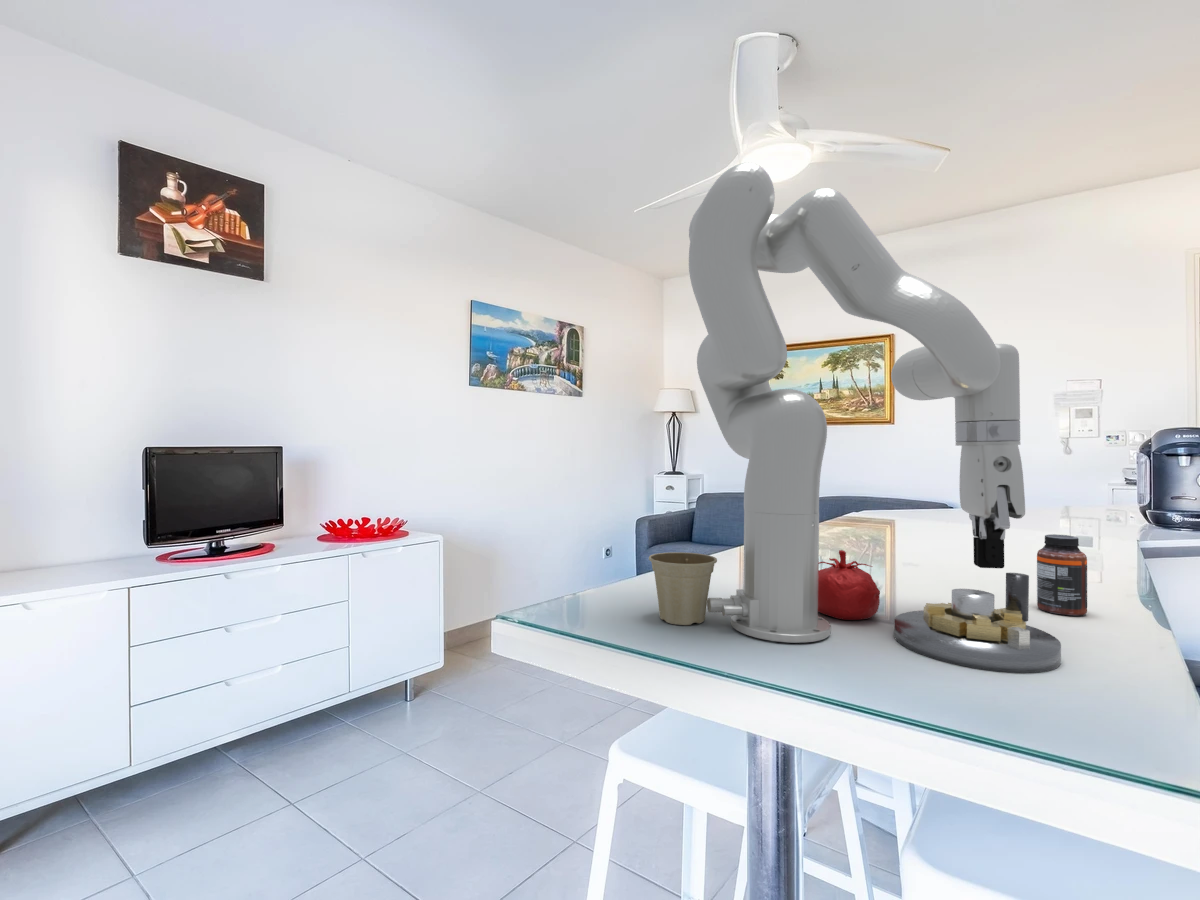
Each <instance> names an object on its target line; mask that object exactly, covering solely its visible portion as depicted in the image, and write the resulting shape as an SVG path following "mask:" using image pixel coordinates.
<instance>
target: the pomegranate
mask: <svg viewBox="0 0 1200 900" xmlns="http://www.w3.org/2000/svg"><path fill="white" fill-rule="evenodd" d="M838 555H839V558H840V560H838V559H837V558H835V557H833V558H829V561H834V563H832V562H826V561H819V565H820V564H827V565H829V567H825V568H822V569H819V573H818V613H821V614H823V615H826V616H829V617H832V618H836V619H839V620H843V621H844V620H845V621H846V620H849V621H857V620H858V621H859V620H867V619H869V618H872V617H873V616H875V615H876V614H877V613H878V611H879V606H880V603H881V602H880V594H881V591H880V590H879V589H880V588H878V585H877V584H876V582H875V580H874V579H873V577H872V575H871V574H870V573H869V572H866V571H865V570H863V569H860V568H859V566H867V567H870V568H873V566H872V565H869V564H866V563H858V562H857V561H856V560H853V561H852V562H848V563H847V557H846V556H847V552H846V551H845V550H843V549H840V550H838Z"/></svg>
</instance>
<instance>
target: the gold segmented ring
mask: <svg viewBox="0 0 1200 900" xmlns="http://www.w3.org/2000/svg"><path fill="white" fill-rule="evenodd" d="M1029 587H1030V575H1029V574H1025V573H1019V572H1006V573H1005V607H1002V608H1001V607H1000V608H994V622H991V620H990V619H989V618H988V617H987V616H983V615H973V616H972V620H966V619H962V618H959V617H955V616H951V608H952V602H947V603H945V602H938V603H930V602H929V603H928V602H927V603H925V606H923V611H924V620H925V622H926V623H927V625H928V626H929V627H932V628H933V629H936V630H939V631H943V632H946V633H949V634H953V635H956V636H964V635H965V636H966V638H972V639H981V640H991V641H1000V642H1001V640H1004V641H1008V628H1009V627H1020V628H1023V629H1026V625H1027V622H1029V611H1030V610H1029V607H1030V606H1029V601H1030V599H1029V594H1030V593H1029V592H1030V590H1029V589H1030V588H1029Z"/></svg>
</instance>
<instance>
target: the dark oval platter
mask: <svg viewBox="0 0 1200 900" xmlns="http://www.w3.org/2000/svg"><path fill="white" fill-rule="evenodd" d="M951 603H952V608H951V616H955V617H959V618H962V619H966V620H972V616H973V615H983V616H987V617H988V618H989V619H990V620H991V622H994V609H995V594H994V593H992V592H989V591H988V592H987V591H984V590H981V589H980V590H979V589H972V588H953V589H951ZM893 627H894V628H893V636H895V637H894V639H895V638H896V639H895V640H896V641H898V644H900V645H901V644H902V645H901V646H903V647H904V646H905V648H906V649H909V650H910V651H912V652H915V653H917V654H919V655H923V656H924V657H928V658H931V659H934V660H938V661H941V662H944V663H948V664H952V665H957V666H961V667H967V668H971V669H977V670H978V669H979V670H984V671H993V672H1002V673H1015V674H1018V673H1019V674H1031V673H1033V674H1034V673H1043V672H1044V673H1045V672H1049V671H1053V670H1055V669H1057V668H1059V667H1060V666H1061V663H1062V643H1061V641H1060V640H1059V639H1058V638H1057V637H1055V636H1054V635H1052V634H1050V633H1048V632H1046V631H1044V630H1041V629H1039V628H1036V627H1034V626H1031V625H1027V624H1026V629H1023V628H1020V627H1009V628H1008V641H1004V640H1001V642H1000V641H991V640H981V639H972V638H966V636H965V635H964V636H956V635H953V634H949V633H946V632H943V631H939V630H936V629H933V628H932V627H929V626H928V625H927V623H926V622H925V620H924V610H916V611H915V610H914V611H913V610H912V611H906V612H903V613H900V614H898V615H896V616H895V617H894V624H893Z"/></svg>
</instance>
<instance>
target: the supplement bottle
mask: <svg viewBox="0 0 1200 900" xmlns="http://www.w3.org/2000/svg"><path fill="white" fill-rule="evenodd" d="M1079 540H1080V539H1079V537H1077V536H1074V535H1067V534H1055V533H1054V534H1053V533H1052V534H1045V535H1044V546H1043V547H1042V548H1039V550H1038V551H1037V553H1036V605H1037V607H1038V608H1039V610H1041V611H1044V612H1045V613H1046V612H1047V613H1049V614H1053V615H1054V614H1055V615H1062V616H1070V617H1074V616H1075V617H1077V616H1083V615H1086V614H1087V612H1088V559H1087V555H1086V554H1085V552H1083V551H1081V549H1080V548H1079V546H1080V544H1079Z"/></svg>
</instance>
